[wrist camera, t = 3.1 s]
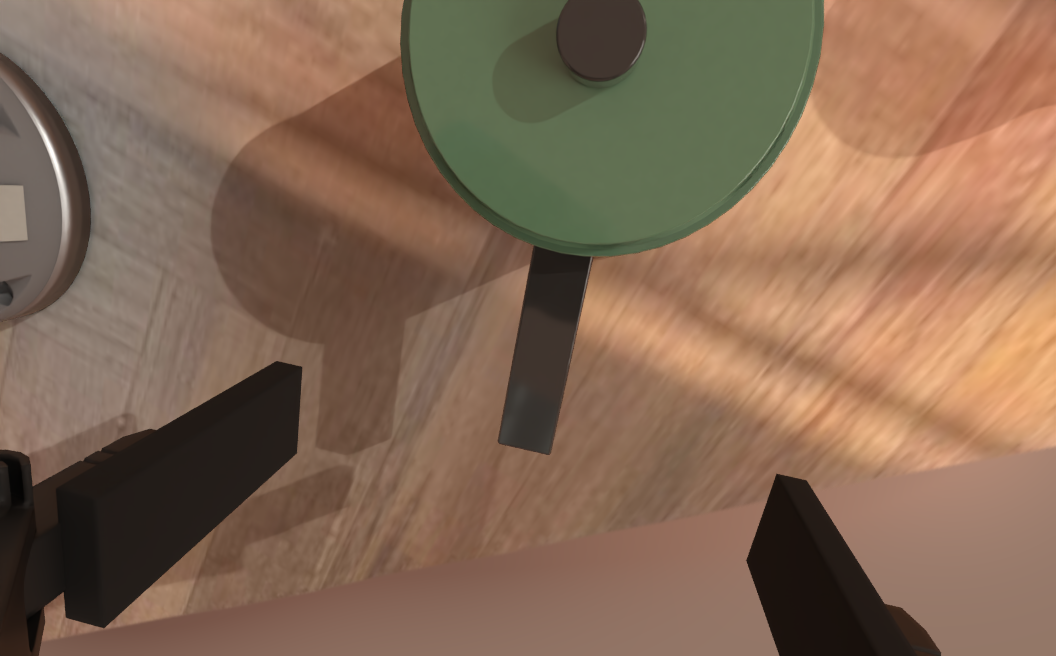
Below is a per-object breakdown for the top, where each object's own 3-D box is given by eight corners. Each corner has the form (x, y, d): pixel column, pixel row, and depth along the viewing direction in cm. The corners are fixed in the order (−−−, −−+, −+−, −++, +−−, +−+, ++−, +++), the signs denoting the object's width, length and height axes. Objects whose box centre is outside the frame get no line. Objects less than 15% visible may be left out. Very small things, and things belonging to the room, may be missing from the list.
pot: (433, 351, 28) (332, 459, 18) (493, -86, 23) (398, -300, 12) (660, 400, 28) (693, 545, 17) (780, -41, 22) (941, -230, 11)
